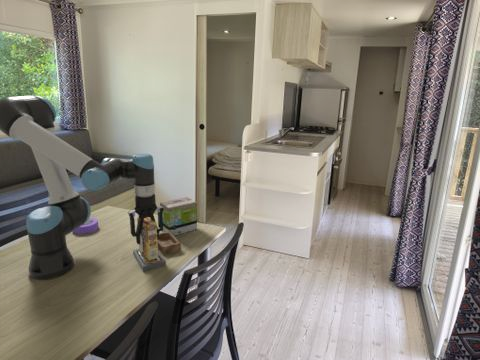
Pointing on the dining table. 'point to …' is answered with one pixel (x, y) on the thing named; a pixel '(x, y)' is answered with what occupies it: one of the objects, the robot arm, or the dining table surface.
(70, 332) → the dining table surface
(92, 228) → the masking tape
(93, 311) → the dining table surface
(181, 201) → the tea box
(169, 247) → the trough
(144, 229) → the candy box
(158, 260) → the grey rectangular panel
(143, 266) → the base
